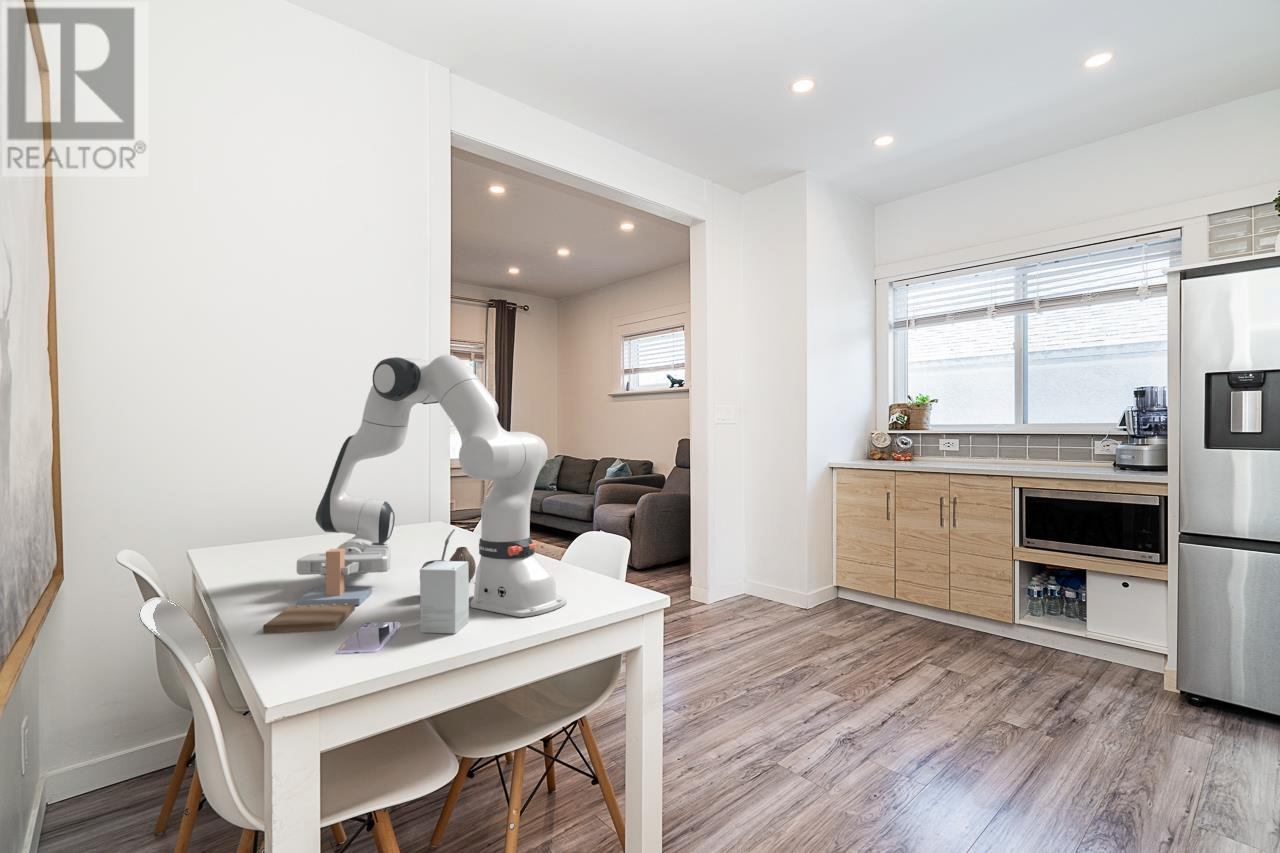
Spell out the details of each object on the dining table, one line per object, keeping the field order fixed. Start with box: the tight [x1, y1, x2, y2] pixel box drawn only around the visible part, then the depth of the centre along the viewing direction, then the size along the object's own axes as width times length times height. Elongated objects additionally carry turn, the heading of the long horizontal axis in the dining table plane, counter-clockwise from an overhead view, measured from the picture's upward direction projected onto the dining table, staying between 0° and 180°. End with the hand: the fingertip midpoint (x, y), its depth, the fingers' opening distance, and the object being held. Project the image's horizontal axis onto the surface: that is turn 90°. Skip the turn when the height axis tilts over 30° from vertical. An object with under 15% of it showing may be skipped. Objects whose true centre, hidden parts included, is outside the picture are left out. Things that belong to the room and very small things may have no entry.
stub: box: [296, 548, 372, 606], centre depth 134 cm, size 9×13×12 cm
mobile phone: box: [335, 621, 402, 655], centre depth 111 cm, size 8×1×15 cm
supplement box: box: [419, 560, 470, 634], centre depth 117 cm, size 7×7×13 cm
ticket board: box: [262, 603, 356, 634], centre depth 120 cm, size 12×13×2 cm
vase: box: [448, 546, 477, 582], centre depth 151 cm, size 7×7×9 cm
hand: (334, 571), depth 133 cm, fingers closed on stub, 3 cm apart
